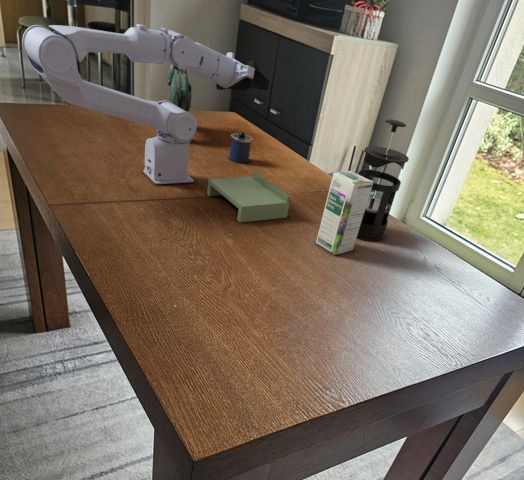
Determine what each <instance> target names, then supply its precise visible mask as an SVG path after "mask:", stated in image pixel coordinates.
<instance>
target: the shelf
mask: <svg viewBox="0 0 524 480" xmlns="http://www.w3.org/2000/svg"><path fill="white" fill-rule="evenodd" d="M206 194H207V195H208V196H209V197H216V196H217V197H218V196H223V197H224V198H225V199H226V200H227V201H229V202H230V203H231V204H232V205H234V206H235V207H236V208H237V210H238V211H237V217H236V221H237V222H239V223H247V222H249V223H250V222H256V221H267V220H277V219H285V218H288V214H289V210H290V209H289V208H290V204H291V199H292V196H290V195H289V194H288V193H286V192H285V191H284V190H282V189H281V188H279V187H278V186H276V185H275V184H274V183H272V182H271V181H269V180H268V179H267V178H266V177H264V176H262V175H261V174H260V173H258V172H257V171H255V170H254V171H251V176H239V177H237V176H236V177H220V178H219V177H218V178H208V181H207V191H206Z"/></svg>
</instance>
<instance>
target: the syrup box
mask: <svg viewBox="0 0 524 480" xmlns="http://www.w3.org/2000/svg"><path fill="white" fill-rule="evenodd" d="M373 183H374V180H372V179H371V180H369V179H366V178H364V177H362V176H360V175H358V173H356V172H355V171H353V170H342V171H341V170H340V171H336V172H334V173H333V174H332V178H331V180H330V184H329V185H330V186H329V189H328V193H327V197H326V201H325V206H324V209H323V213H322V216H321V217H322V218H321V222H320V226H319V229H318V233H317V237H316V240H315V244H316V245H318V246H320V247H321V248H323V249H325V250H327V252H330V253H331V254H332V255H334V256H337V255H341V254H344V253H347V252H351V251H353V250H354V247H355V245H356V241H357V239H358V238H357V235H358V231H359V228H360V225H361V222H362V218H363V215H364V211H365V208H366V205H367V202H368V198H369V197H370V194H371V192H372V189H371V188H372V185H373Z"/></svg>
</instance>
